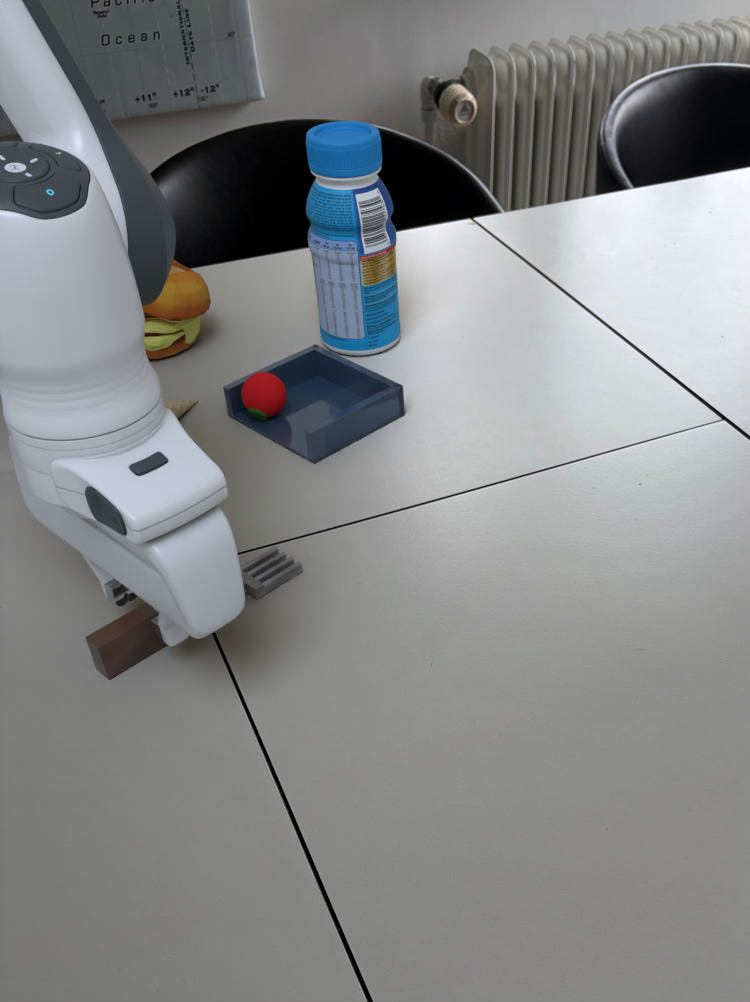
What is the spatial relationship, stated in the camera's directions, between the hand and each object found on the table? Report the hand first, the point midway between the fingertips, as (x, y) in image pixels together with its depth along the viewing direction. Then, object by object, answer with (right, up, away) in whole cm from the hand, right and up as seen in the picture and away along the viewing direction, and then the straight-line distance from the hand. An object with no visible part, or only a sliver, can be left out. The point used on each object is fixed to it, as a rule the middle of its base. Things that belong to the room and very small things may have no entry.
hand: (147, 617), depth 71 cm
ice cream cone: (-7, +16, +21) cm, 28 cm away
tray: (+8, +19, +24) cm, 32 cm away
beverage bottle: (+11, +29, +35) cm, 47 cm away
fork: (+3, +1, +4) cm, 5 cm away
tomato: (+3, +21, +22) cm, 31 cm away
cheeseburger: (-10, +29, +35) cm, 47 cm away
